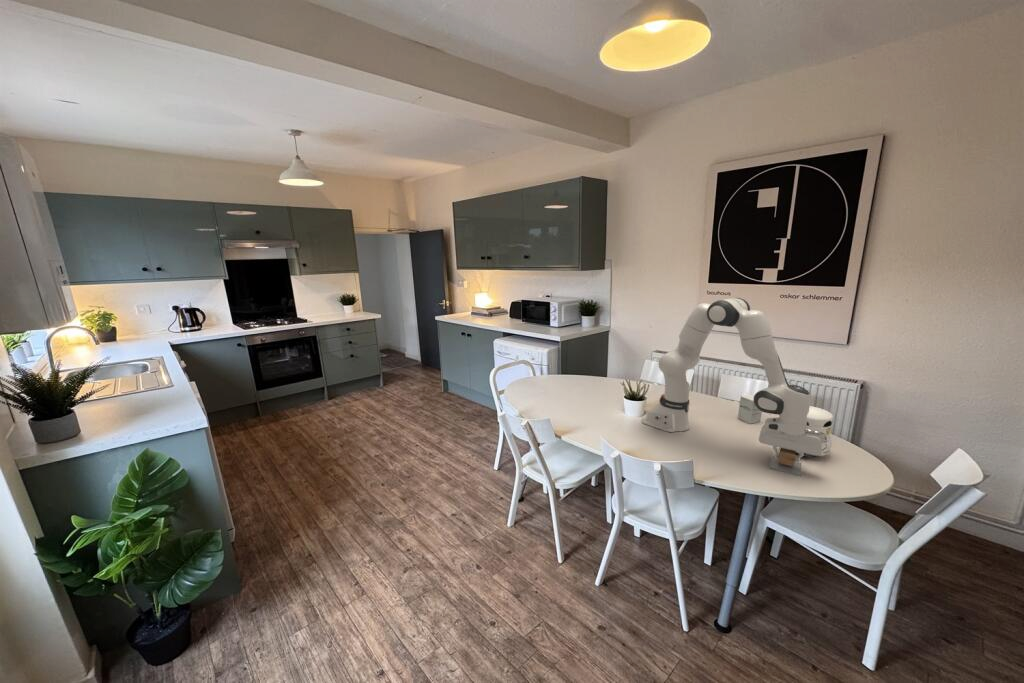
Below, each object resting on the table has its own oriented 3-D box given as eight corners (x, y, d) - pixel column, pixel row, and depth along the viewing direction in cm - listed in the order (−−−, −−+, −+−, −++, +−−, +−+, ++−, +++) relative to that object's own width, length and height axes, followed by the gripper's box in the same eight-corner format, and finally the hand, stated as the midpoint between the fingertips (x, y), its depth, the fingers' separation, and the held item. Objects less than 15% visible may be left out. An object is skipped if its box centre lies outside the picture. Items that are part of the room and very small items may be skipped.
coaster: (769, 468, 152) (770, 466, 152) (771, 457, 160) (771, 455, 160) (801, 476, 146) (801, 474, 146) (800, 464, 154) (801, 463, 154)
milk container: (808, 463, 155) (815, 422, 151) (769, 444, 171) (775, 406, 167) (839, 456, 160) (847, 416, 156) (798, 438, 176) (804, 401, 172)
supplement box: (737, 418, 198) (740, 395, 195) (748, 416, 200) (751, 393, 197) (749, 424, 191) (752, 400, 188) (761, 422, 193) (764, 398, 190)
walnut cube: (778, 457, 156) (780, 446, 155) (793, 461, 153) (795, 449, 152) (778, 462, 152) (780, 451, 151) (793, 466, 149) (795, 455, 148)
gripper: (825, 430, 146) (819, 462, 149) (761, 417, 158) (757, 448, 161) (826, 436, 141) (820, 470, 144) (760, 423, 153) (756, 454, 156)
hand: (786, 458), depth 152 cm, fingers closed on walnut cube, 5 cm apart
